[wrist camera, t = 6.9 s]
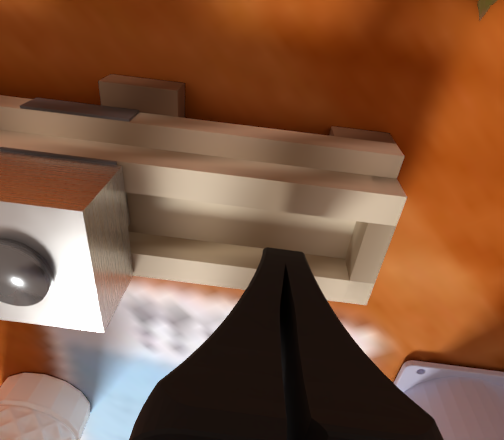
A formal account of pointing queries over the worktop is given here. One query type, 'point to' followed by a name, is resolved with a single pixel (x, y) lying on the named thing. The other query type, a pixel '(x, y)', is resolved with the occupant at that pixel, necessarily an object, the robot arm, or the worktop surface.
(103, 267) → the block
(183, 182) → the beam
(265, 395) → the robot arm
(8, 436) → the white cup
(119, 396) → the worktop surface
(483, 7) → the green leafy spiky piece
